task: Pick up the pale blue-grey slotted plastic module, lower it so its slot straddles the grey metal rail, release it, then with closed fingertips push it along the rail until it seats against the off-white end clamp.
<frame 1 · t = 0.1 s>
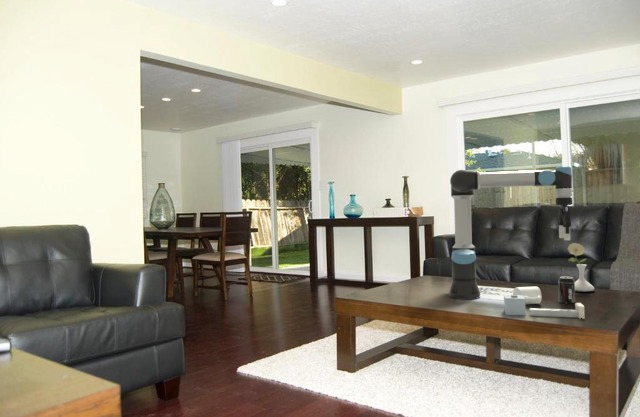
hand: (564, 239, 251), 28 cm above the table, fingers open, 13 cm apart
mug: (529, 305, 230), on the table
module: (514, 312, 215), on the table
flower in vase: (580, 291, 259), on the table
beverage can: (566, 303, 232), on the table
rail: (553, 315, 208), on the table
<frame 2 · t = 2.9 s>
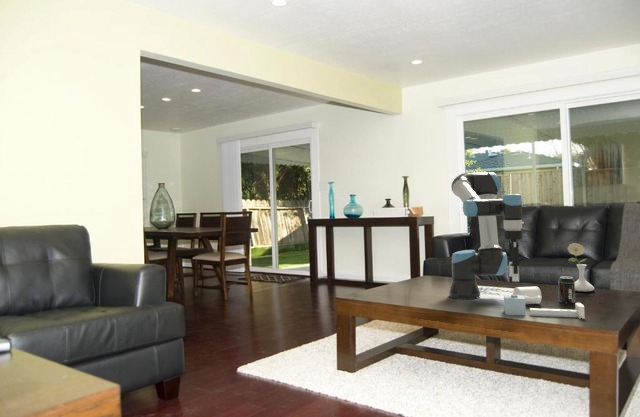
hand: (514, 278, 215), 15 cm above the table, fingers open, 13 cm apart
nothing on the table moved.
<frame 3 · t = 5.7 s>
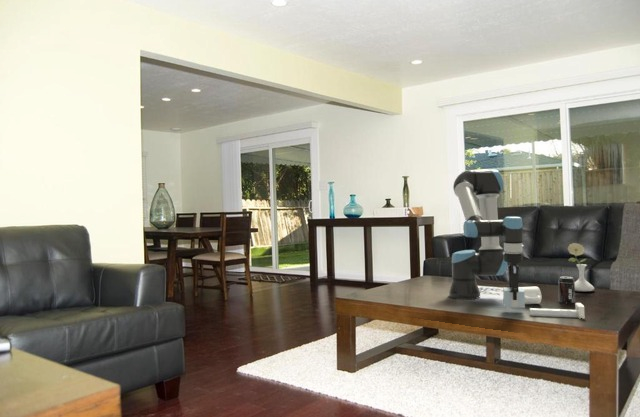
hand: (513, 304, 216), 3 cm above the table, fingers closed on module, 7 cm apart
module: (513, 305, 216), point 3 cm above the table, touching gripper
everything else where it was.
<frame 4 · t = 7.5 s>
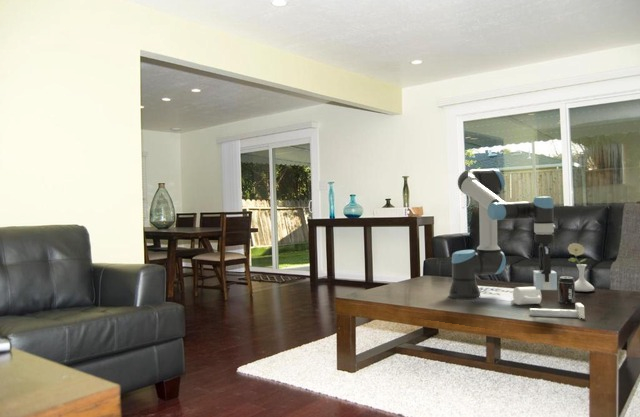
hand: (545, 287, 209), 12 cm above the table, fingers closed on module, 7 cm apart
module: (545, 288, 209), point 11 cm above the table, touching gripper
everything else where it was.
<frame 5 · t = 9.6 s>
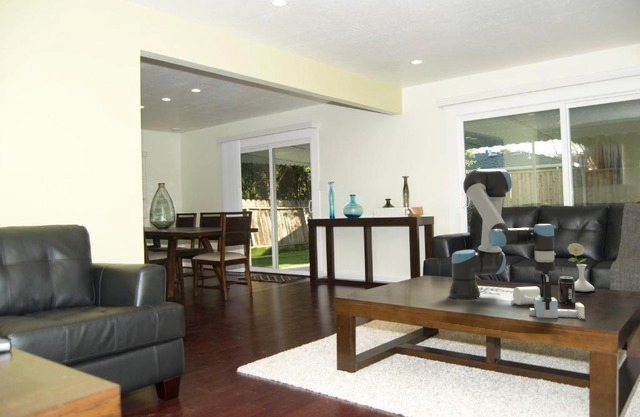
hand: (545, 315, 209), 0 cm above the table, fingers closed on module, 7 cm apart
module: (545, 315, 209), resting in rail, touching gripper
everything else where it was.
when the fingers open (0 cm above the table, at t = 9.9 s): module stays where it is, resting in rail.
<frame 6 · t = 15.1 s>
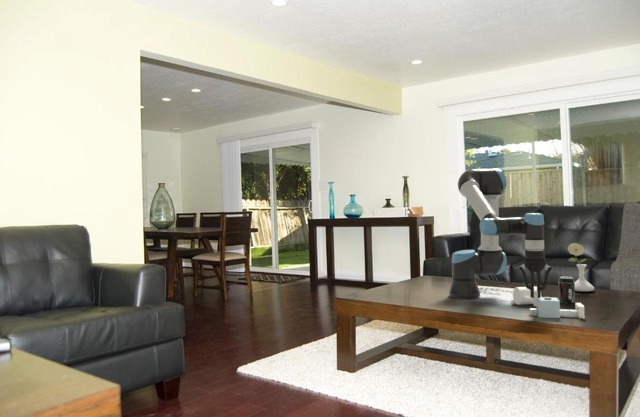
hand: (535, 305, 210), 4 cm above the table, fingers closed
module: (547, 315, 208), resting in rail, touching gripper
everything else where it was.
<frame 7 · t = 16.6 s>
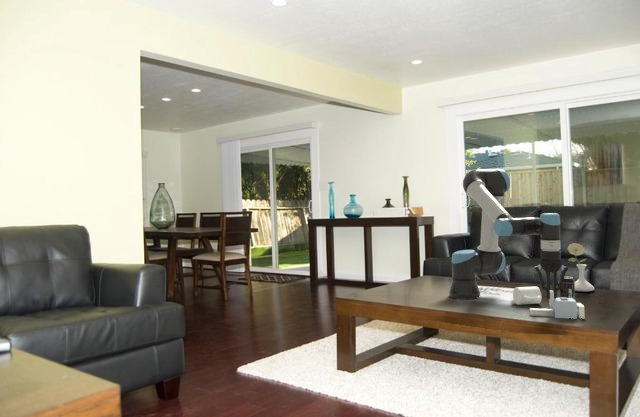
hand: (551, 306, 208), 4 cm above the table, fingers closed
module: (564, 316, 207), resting in rail, touching gripper
everything else where it was.
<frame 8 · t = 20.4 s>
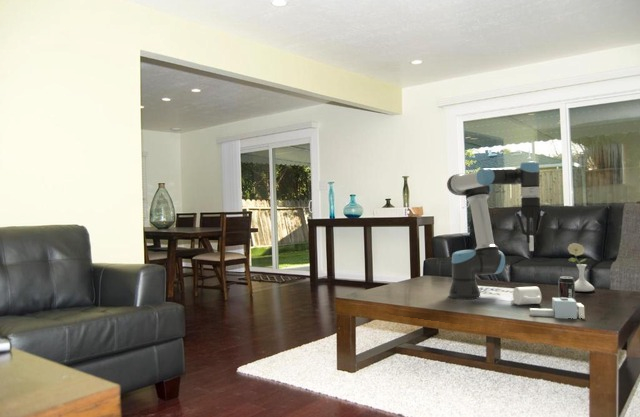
hand: (531, 250, 218), 26 cm above the table, fingers closed
module: (564, 316, 207), resting in rail
everything else where it was.
at the end: module 0.4 cm from the target spot on the rail, point 0.0 cm above the rail's base; module tilted 0°; the gripper is holding nothing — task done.
